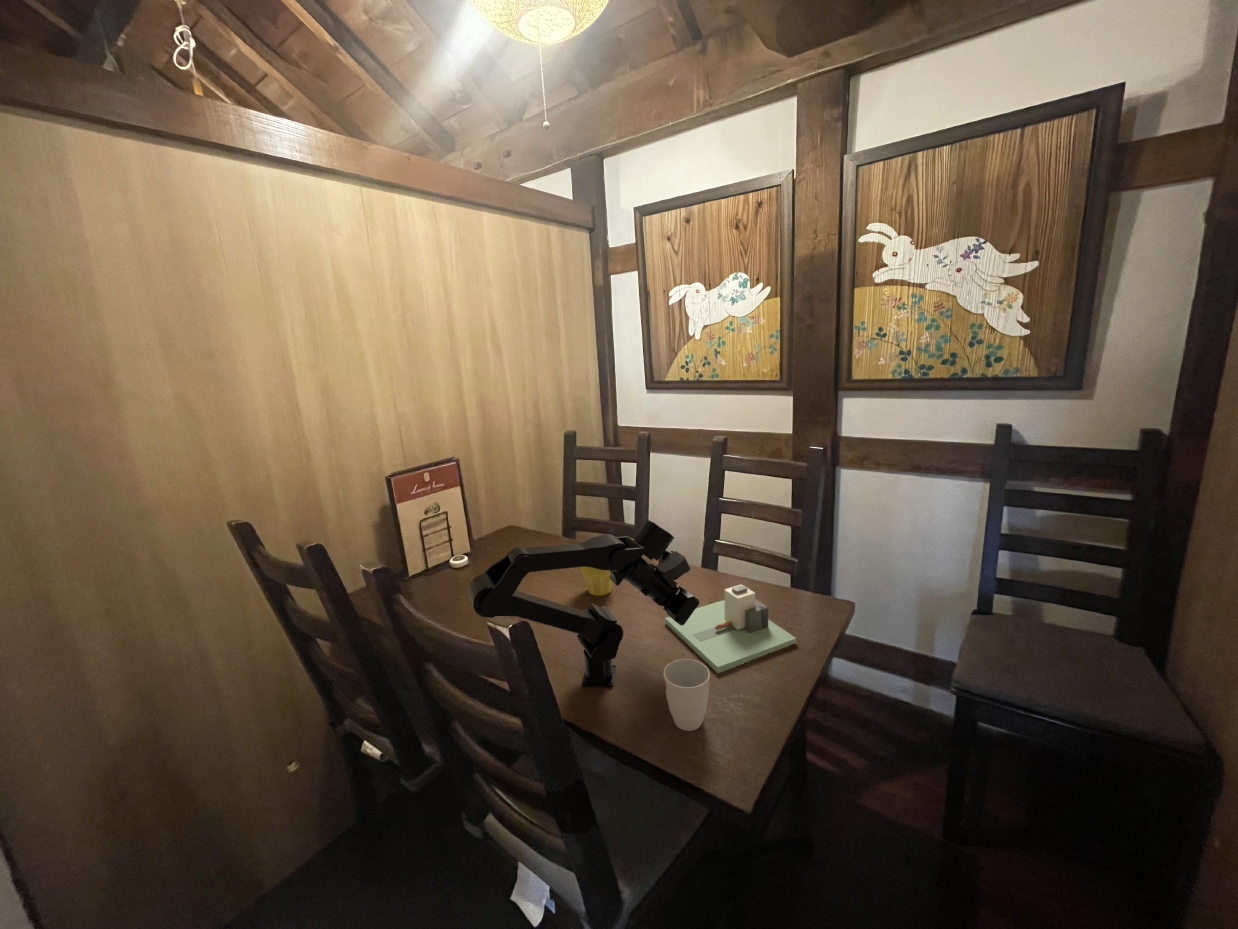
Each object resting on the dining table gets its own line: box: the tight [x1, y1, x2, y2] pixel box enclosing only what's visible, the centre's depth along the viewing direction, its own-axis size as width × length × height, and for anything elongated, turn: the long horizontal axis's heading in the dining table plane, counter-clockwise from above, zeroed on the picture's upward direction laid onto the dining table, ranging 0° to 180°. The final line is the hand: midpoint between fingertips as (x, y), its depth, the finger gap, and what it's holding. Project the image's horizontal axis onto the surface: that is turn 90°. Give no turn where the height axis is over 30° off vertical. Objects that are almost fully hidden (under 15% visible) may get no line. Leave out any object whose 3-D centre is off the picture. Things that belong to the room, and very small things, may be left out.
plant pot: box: [579, 567, 614, 597], centre depth 141 cm, size 10×10×10 cm
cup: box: [663, 658, 710, 732], centre depth 90 cm, size 8×8×10 cm
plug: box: [715, 584, 756, 630], centre depth 116 cm, size 9×5×9 cm, turn 114°
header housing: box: [746, 598, 769, 633], centre depth 118 cm, size 5×9×5 cm, turn 24°
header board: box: [664, 599, 797, 674], centre depth 117 cm, size 21×22×2 cm
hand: (689, 610), depth 111 cm, fingers closed
